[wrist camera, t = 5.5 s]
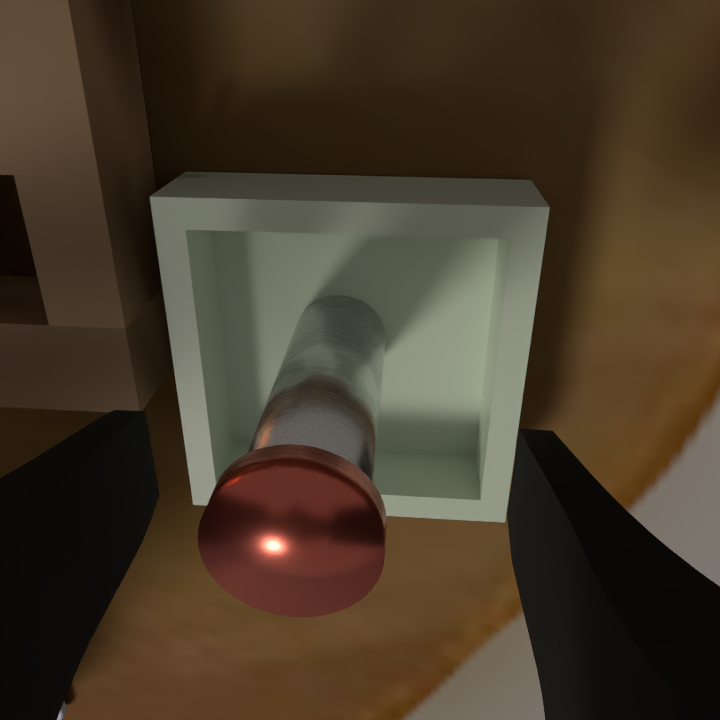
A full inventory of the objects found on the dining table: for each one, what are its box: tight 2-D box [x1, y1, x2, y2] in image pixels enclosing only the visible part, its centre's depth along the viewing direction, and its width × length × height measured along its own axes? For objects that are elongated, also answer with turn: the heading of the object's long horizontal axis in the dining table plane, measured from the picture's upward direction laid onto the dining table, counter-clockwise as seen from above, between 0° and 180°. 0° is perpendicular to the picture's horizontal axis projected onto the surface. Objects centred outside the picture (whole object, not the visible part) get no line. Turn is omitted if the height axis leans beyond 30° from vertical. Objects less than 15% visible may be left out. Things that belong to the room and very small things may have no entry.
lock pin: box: [198, 295, 387, 617], centre depth 14 cm, size 3×3×8 cm
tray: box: [150, 172, 550, 522], centre depth 17 cm, size 8×8×2 cm
